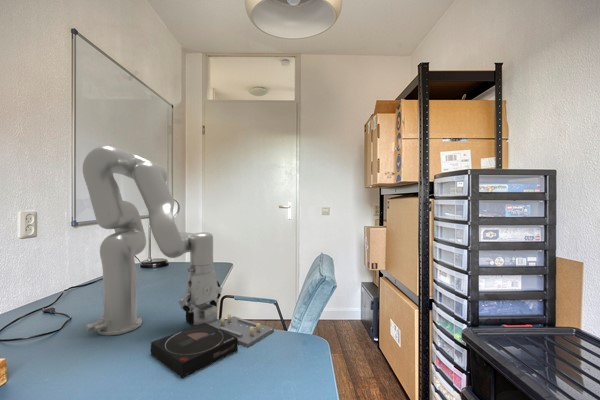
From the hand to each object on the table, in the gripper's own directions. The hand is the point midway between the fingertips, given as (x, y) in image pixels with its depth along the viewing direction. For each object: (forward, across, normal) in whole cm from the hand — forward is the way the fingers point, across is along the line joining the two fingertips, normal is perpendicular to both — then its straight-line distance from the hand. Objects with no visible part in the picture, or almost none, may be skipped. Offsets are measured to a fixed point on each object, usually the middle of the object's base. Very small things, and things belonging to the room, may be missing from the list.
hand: (202, 318), depth 100 cm
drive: (+2, 0, 0) cm, 2 cm away
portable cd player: (+2, -14, -14) cm, 20 cm away
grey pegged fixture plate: (+2, +2, -16) cm, 16 cm away
